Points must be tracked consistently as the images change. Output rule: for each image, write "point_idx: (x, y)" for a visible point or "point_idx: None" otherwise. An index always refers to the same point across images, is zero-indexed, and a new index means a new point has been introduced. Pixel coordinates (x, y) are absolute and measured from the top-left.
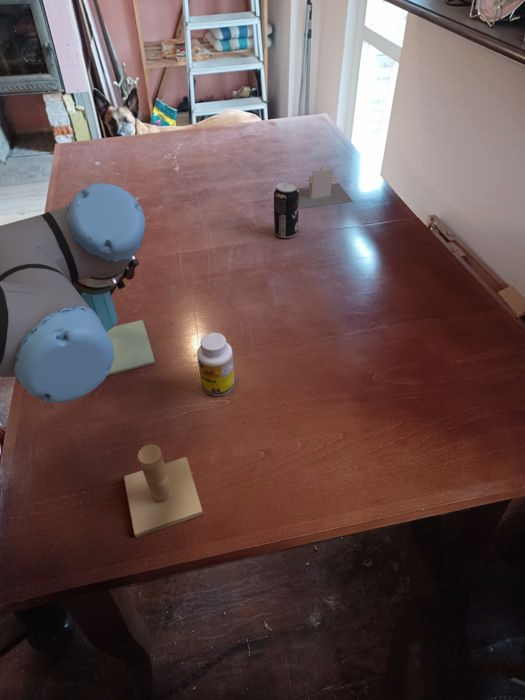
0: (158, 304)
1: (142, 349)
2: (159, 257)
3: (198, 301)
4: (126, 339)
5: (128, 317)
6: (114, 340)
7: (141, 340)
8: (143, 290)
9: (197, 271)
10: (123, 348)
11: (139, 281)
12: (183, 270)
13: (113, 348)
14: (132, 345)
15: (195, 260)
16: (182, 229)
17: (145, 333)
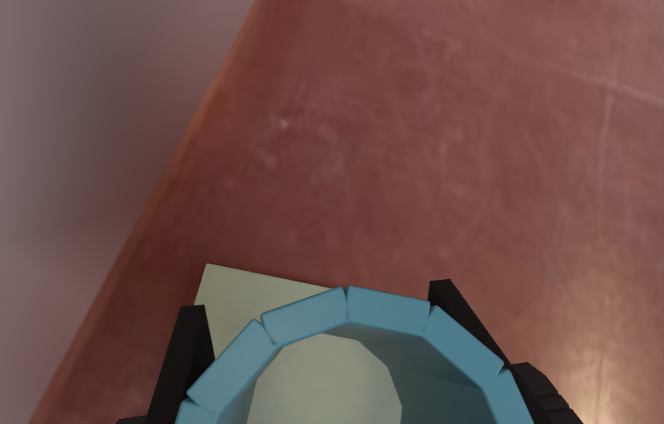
0: (511, 261)
1: None
2: (557, 76)
3: (622, 313)
4: (389, 380)
5: (420, 269)
6: (355, 363)
7: None
8: (487, 180)
9: (642, 184)
10: (369, 419)
11: (486, 138)
12: (606, 159)
13: (341, 401)
14: (398, 421)
15: (644, 137)
16: (633, 7)
17: None
